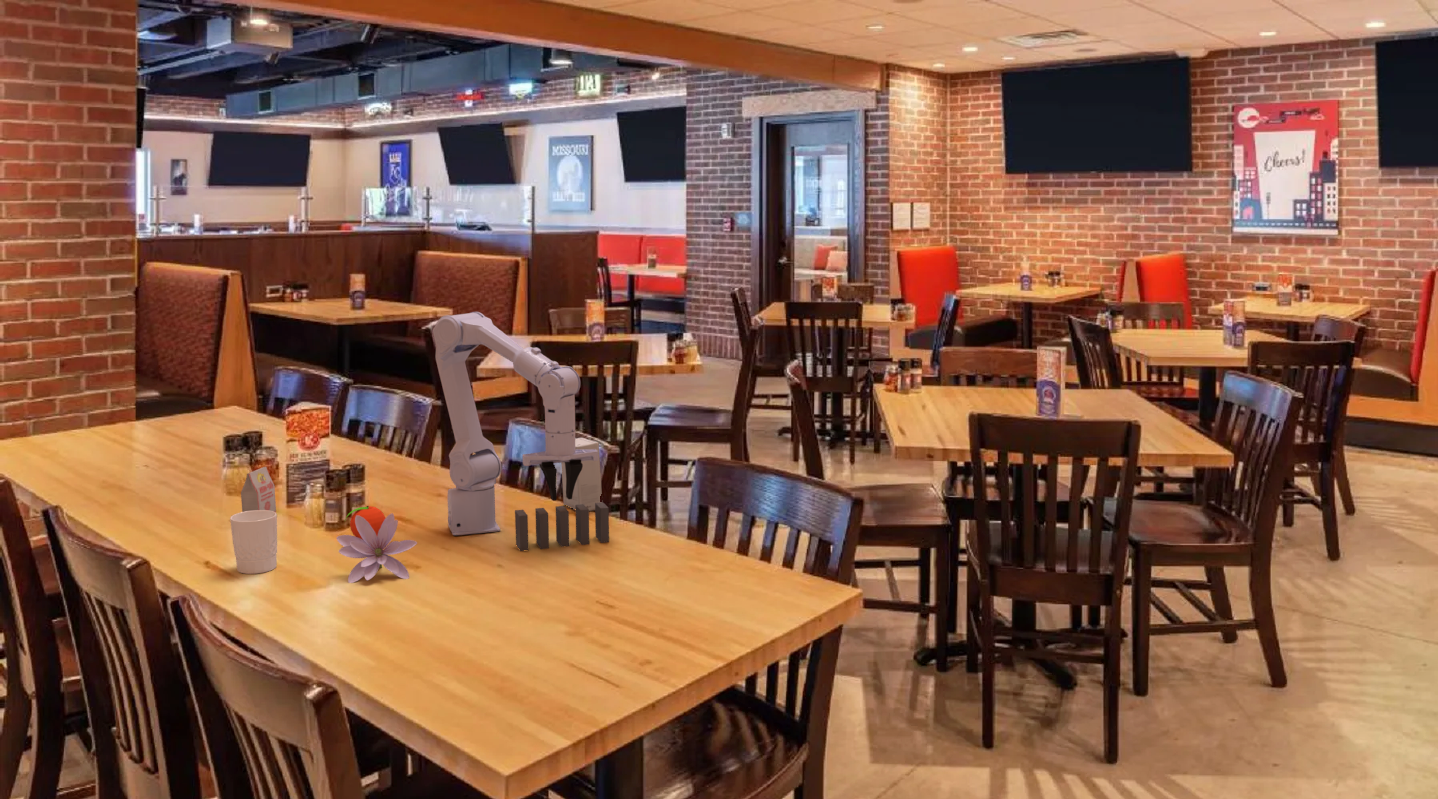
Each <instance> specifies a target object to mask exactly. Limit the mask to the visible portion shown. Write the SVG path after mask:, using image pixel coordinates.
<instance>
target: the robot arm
mask: <svg viewBox="0 0 1438 799" xmlns="http://www.w3.org/2000/svg"><path fill="white" fill-rule="evenodd" d="M432 334H433V339H434V342H435V362H436V365H437V370H438V374H439V378H440V379H439V380H440V382H441V386H442V391H443V395H444V399H445V403H446V407H447V411H448V415H449V419H450V424H451V428H452V432H453V435H454V436H453V437H454V440H455V444H454V445H453V447H452V449H451V450H450V452H449V454H448V457H449V458H448V459H449V464H450V465H449V477H450V480H451V482H452V483H453V484H454V485H455V487H452V488H449V489H448V490H447V514H448V515H447V526H448V528H449V530H450V532H451V534H452V535H453V536H462V535H474V534H484V533H494V532H500V531H501V528H500V526H499V525H498V523H497V521H496V500H495V499H496V497H495V496H496V494H495V485H496V484H497V479H498V478H499V477H500V475H501V474H502V466H503V464H502V461H501V458H500V457H499V456H498V454H497V453H496V450H495V447H494V444H493V442H491V441H490V440H488V439H487V438H486V437H485V436H484V435H483V432H482V427H481V424H480V420H479V415H478V410H477V407H476V402H475V398H474V394H473V390H472V387H471V382H470V378H469V374H468V373H469V372H468V370H467V365H466V361H467V360H468V357H469V356H470V354H471V353H472V351H474V350H475V349H476V348H477V347H479V345H483V346H485V347H487V348H488V349H490V351H493V352H495V353H496V354H498V355H500V356H502V357H503V358H505V359H507V360H508V361H509V362H511V363H512V364H513V369H514V372H516V373H517V374H518V375H520V376H521V377H522V378H524V379H526V380H527V381H528V382H530V383H531V384H533V385H534V386H535V387H537V389H538V393H539V394H540V396H541V397H542V403H543V405H542V406H544V419H545V420H544V421H545V422H544V428H545V432H544V433H545V436H544V438H545V451H540V452H539V451H538V452H533V453H525V454H524V453H523V454H522V465H523V466H524V467H530V466H535V465H536V466H537V465H539V468H540V469H541V472H542V474H543V476H544V478H545V480H546V483H547V486H548V490H549V494H550V499H551V501H553V502H554V501H555V502H556V501H557V500H558V499H557V496H558V495H557V494H558V492H557V473H558V472H557V471H558V469H557V468H556V464H558V463H559V464H560V463H562V462H565V469H566V497H567V498H568V499H572V495H573V490H574V487H575V483H576V481H577V478H578V476H579V474H580V472H581V470H582V467H583V464H582V463H581V461H589V460H593V461H598V451H597V450H596V449H586V450H585V449H575V439H576V407H575V406H576V403H575V402H576V399H575V397H576V396H575V395H576V394H578V393H579V391H580V388H581V378H580V375H579V373H578V372H577V371H576V370H574V368H573V367H572V366H568V365H566V366H561V365H560V364H559V363H558V362H557V361H555V360H551V359H550V358H549V357H547V356H546V355H544V354H543V353H542V350H541V349H540V348H539V347H531V346H526V347H524V348H523V347H522V346H521V345H519V343H518V342H516V341H515V340H513V339H512V338H511V337H510V336H508V335H507V334H506V333H504V331H502V330H501V329H499V328H498V327H497V326H496V325H494V323H493V321H492V319H491V318H489V317H487V316H485V315H484V314H483V313H482V312H479V311H472V312H469V313H459V314H454V315H452V314H451V315H450V314H449V315H448V314H447V315H443V316H441V317H440V318H439V319H438V320H437V322H436V324H435V326H433V329H432ZM473 453H474V454H473Z"/></svg>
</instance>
